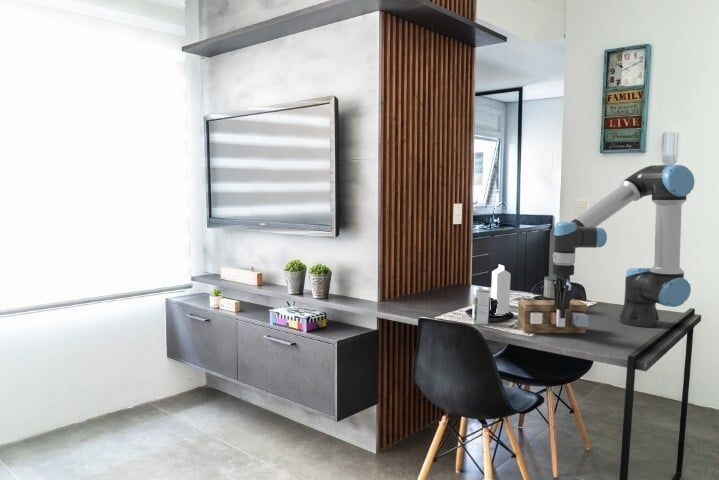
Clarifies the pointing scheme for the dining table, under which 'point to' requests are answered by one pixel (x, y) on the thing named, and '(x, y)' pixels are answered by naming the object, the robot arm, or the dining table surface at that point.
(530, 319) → the cream button
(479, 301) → the syrup box
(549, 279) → the milk frother
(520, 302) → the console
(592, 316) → the dining table surface
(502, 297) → the milk
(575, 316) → the slate button
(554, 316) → the salmon pink block
